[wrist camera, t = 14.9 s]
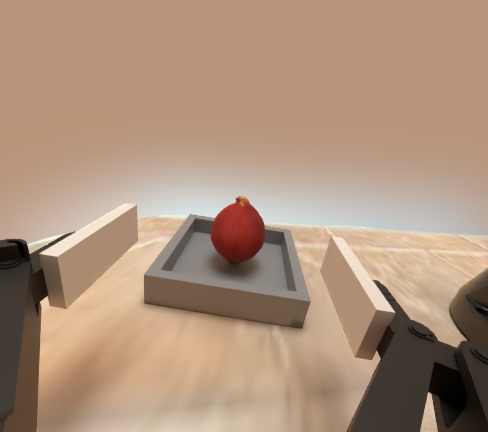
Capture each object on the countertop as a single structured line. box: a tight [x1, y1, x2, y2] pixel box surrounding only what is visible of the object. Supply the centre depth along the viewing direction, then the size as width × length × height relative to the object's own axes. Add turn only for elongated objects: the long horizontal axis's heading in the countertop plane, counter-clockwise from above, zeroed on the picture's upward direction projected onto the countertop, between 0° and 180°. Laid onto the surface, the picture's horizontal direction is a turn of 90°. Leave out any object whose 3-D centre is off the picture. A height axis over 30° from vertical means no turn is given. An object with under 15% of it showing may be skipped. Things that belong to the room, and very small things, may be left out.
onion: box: [211, 196, 265, 264], centre depth 25 cm, size 6×6×8 cm
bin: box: [144, 214, 310, 328], centre depth 27 cm, size 14×14×3 cm
